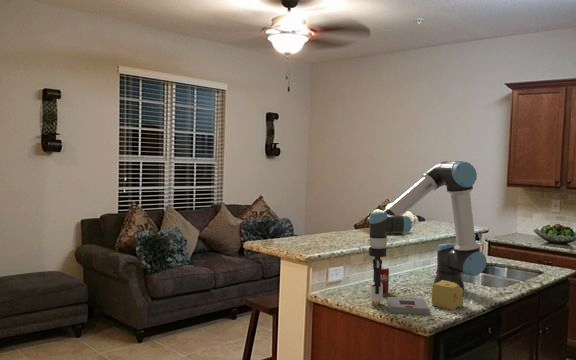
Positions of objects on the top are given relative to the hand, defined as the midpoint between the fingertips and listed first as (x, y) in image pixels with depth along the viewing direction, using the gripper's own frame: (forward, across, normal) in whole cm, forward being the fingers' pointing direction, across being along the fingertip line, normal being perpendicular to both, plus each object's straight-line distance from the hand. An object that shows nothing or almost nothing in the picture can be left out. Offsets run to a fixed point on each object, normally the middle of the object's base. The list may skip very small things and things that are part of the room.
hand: (376, 298), depth 226 cm
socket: (+2, +4, +13) cm, 14 cm away
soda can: (+3, -22, +3) cm, 22 cm away
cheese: (+3, -4, +31) cm, 31 cm away
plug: (+2, 0, 0) cm, 2 cm away
